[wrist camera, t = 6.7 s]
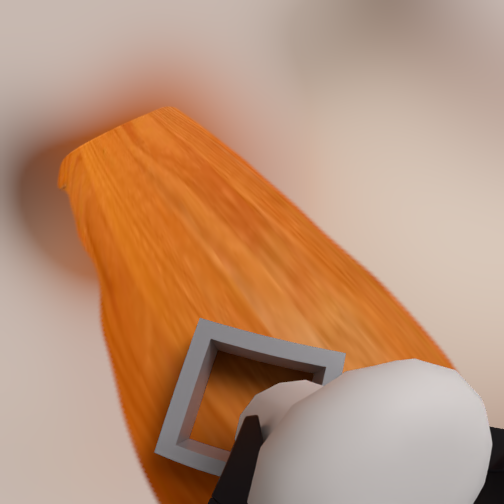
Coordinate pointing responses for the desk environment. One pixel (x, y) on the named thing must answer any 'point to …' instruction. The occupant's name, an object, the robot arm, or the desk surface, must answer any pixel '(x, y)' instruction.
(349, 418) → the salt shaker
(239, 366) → the desk surface
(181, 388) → the frame
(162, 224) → the desk surface
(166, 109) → the desk surface
